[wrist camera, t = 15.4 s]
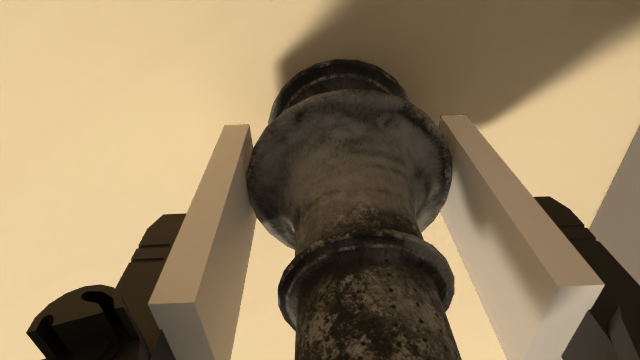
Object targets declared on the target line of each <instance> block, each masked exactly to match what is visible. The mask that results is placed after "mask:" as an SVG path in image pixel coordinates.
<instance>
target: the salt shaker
mask: <svg viewBox="0 0 640 360" xmlns="http://www.w3.org/2000/svg"><path fill="white" fill-rule="evenodd" d="M246 179H247V189H248V196H249V200H250V203H251V205H252V208H253V210H254V213H255V215H256V217H257V218H258V220H259V221H260V222H261V223H262V225H263V226H264V227H265V228H266V230H267V231H268V232H269V233H270V234H271V235H273V236H274V237H275V238H277V239H278V240H279V241H281V242H282V243H283V244H285V245H286V246H288V247H290V248H292V249H294V250H295V258H294V259H293V260H292V261H291V263H290V264H289V265H288V266H287V268H286V269H285V270H284V272H283V275H282V277H281V280H280V283H279V286H278V306H279V308H280V310H281V313H282V315H283V317H284V319H285V320H286V322H287V323H288V324H289V325H290V326H291V327H292V328H293V329H294V330H295V331H296V340H295V360H462V359H461V356H460V354H459V351H458V348H457V345H456V342H455V339H454V336H453V333H452V331H451V328H450V325H449V322H448V319H447V316H446V313H445V312H446V311H447V309H448V308H449V306H450V303H451V301H452V298H453V295H454V275H453V273H452V271H451V269H450V266H449V264H448V262H447V260H446V258H445V257H444V256H443V255H442V254H441V253H440V252H439V251H438V250H437V249H436V248H435V247H434V246H433V245H431V244H429V243H428V242H426V241H424V240H423V237H422V234H421V232H422V231H423V230H425V229H426V228H427V227H428V226H429V225H430V224H431V223H432V222H433V221H434V220H435V218H436V217H437V215H438V213H439V212H440V210H441V209H442V207H443V206H444V204H445V202H446V200H447V197H448V193H449V190H450V186H451V182H452V156H451V153H450V151H449V148H448V145H447V142H446V140H445V137H444V135H443V133H442V132H441V131H440V129H439V128H438V127H437V126H436V125H435V123H434V122H433V121H432V120H431V118H430V117H429V116H428V115H427V114H426V113H425V112H423V111H422V110H420V109H419V108H417V107H416V106H414V105H413V104H411V103H410V102H409V99H408V97H407V94H406V92H405V91H404V90H403V88H402V87H401V86H400V85H399V83H398V82H397V81H396V80H395V79H394V77H392V76H391V75H389V74H388V73H386V72H385V71H383V70H382V69H380V68H379V67H377V66H374V65H371V64H368V63H365V62H362V61H359V60H340V59H336V60H332V61H327V62H323V63H318V64H315V65H313V66H311V67H309V68H308V69H306V70H304V71H302V72H300V73H298V74H297V75H296V76H295V77H294V78H292V79H291V80H290V81H289V82H288V83H287V84H286V85H285V86H284V87H283V88H282V90H281V92H280V93H279V95H278V96H277V98H276V100H275V101H274V103H273V106H272V110H271V114H270V118H269V121H268V126H267V127H266V128H265V130H264V131H263V133H262V135H261V136H260V138H259V140H258V141H257V143H256V144H255V146H254V148H253V149H252V153H251V157H250V161H249V165H248V169H247V173H246Z"/></svg>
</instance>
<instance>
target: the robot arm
mask: <svg viewBox="0 0 640 360" xmlns="http://www.w3.org/2000/svg"><path fill="white" fill-rule="evenodd" d="M439 129H440V131H441V132H442V133H443V135H444V137H445V140H446V142H447V145H448V148H449V151H450V153H451V156H452V182H451V186H450V190H449V193H448V197H447V200H446V202H445V204H444V206H443V207H442V209H441V210H440V212H441V215H442V217H443V219H444V221H445V223H446V226H447V228H448V230H449V232H450V234H451V237H452V239H453V241H454V243H455V246H456V248H457V250H458V252H459V254H460V257H461V259H462V261H463V263H464V265H465V268H466V270H467V272H468V274H469V276H470V279H471V281H472V283H473V285H474V287H475V290H476V292H477V294H478V296H479V298H480V301H481V303H482V305H483V307H484V309H485V312H486V314H487V316H488V318H489V321H490V323H491V325H492V327H493V329H494V332H495V334H496V336H497V338H498V340H499V343H500V345H501V347H502V349H503V351H504V354H505V356H506V358H507V360H561V359H563V360H640V285H639V284H638V283H637V282H636V281H635V280H634V279H633V278H632V276H631V275H630V274H629V273H628V272H627V271H626V270H625V269H624V268H623V267H622V266H621V264H620V263H619V262H618V261H617V260H616V259H615V258H614V257H613V256H612V255H611V253H610V252H609V251H608V250H607V249H606V248H605V247H604V246H603V245H602V244H601V243H600V241H596V237H595V236H594V235H593V234H592V233H591V232H590V231H589V229H588V228H584V224H583V223H582V222H581V221H580V220H579V219H578V217H577V216H576V215H575V214H574V213H573V212H572V211H571V210H570V209H569V208H567V207H566V206H564V205H562V204H561V203H559V202H558V201H556V200H554V199H553V198H551V197H550V196H547V197H533V196H532V195H531V194H530V193H529V191H528V190H527V189H526V188H525V187H524V185H523V184H522V183H521V182H520V180H519V179H518V178H517V177H516V176H515V174H514V173H513V172H512V171H511V170H510V168H509V167H508V166H507V165H506V163H505V162H504V161H503V160H502V159H501V157H500V156H499V155H498V154H497V152H496V151H495V150H494V149H493V148H492V146H491V145H490V144H489V143H488V141H487V140H486V139H485V138H484V137H483V135H482V134H481V133H480V132H479V131H478V129H477V128H476V127H475V126H474V124H473V123H472V122H471V121H470V120H469V118H468V117H467V116H466V115H445V116H441V117H440V123H439ZM252 149H253V144H252V138H251V132H250V126H249V124H244V125H225V126H224V128H223V130H222V133H221V135H220V137H219V140H218V142H217V144H216V147H215V149H214V151H213V154H212V156H211V158H210V161H209V163H208V165H207V168H206V170H205V172H204V175H203V177H202V179H201V182H200V184H199V186H198V189H197V191H196V193H195V195H194V198H193V200H192V202H191V205H190V207H189V209H188V212H187V214H166V215H162V216H161V217H160V218H159V219H158V220H157V221H156V222H155V223H153V224H152V225H151V226H150V227H149V228H148V229H147V231H146V232H145V234H144V236H143V238H142V240H141V242H140V244H139V248H138V249H136V251H135V253H134V255H133V257H132V258H131V263H129V264H128V266H127V268H126V270H125V271H124V273H123V275H122V277H121V279H120V281H119V283H118V284H117V286H116V288H114V287H109V286H105V285H93V286H84V287H82V288H79V289H76V290H74V291H71V292H68V293H66V294H64V295H63V296H61V297H60V298H58V299H56V300H55V301H53V302H52V303H50V304H49V305H48V306H47V307H46V308H45V309H44V310H43V311H42V312H40V313H39V314H38V315H37V316H36V317H35V319H34V320H33V322H32V324H31V326H30V327H29V329H28V331H27V332H26V333H27V335H28V336H29V337H30V338H31V340H32V341H33V342H34V343H35V345H36V346H37V347H38V348H39V349H40V351H41V352H42V353H43V354H44V356H45V357H46V359H43V360H230V359H231V353H232V348H233V343H234V337H235V332H236V326H237V321H238V316H239V310H240V305H241V299H242V294H243V289H244V283H245V278H246V272H247V267H248V261H249V256H250V251H251V245H252V240H253V234H254V229H255V224H256V218H257V217H256V215H255V213H254V210H253V208H252V205H251V203H250V200H249V196H248V189H247V179H246V173H247V169H248V165H249V161H250V157H251V153H252Z"/></svg>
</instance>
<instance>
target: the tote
mask: <svg viewBox="0 0 640 360" xmlns="http://www.w3.org/2000/svg"><path fill="white" fill-rule="evenodd" d="M589 231H590V232H591V233H592V234H593V235H594V236H595V237H596V241H600V243H601V244H602V245H603V246H604V247H605V248H606V249H607V250H608V251H609V252H610V253H611V255H612V256H613V257H614V258H615V259H616V260H617V261H618V262H619V263H620V264H621V266H622V267H623V268H624V269H625V270H626V271H627V272H628V273H629V274H630V275H631V276H632V278H633V279H634V280H635V281H636V282H637V283H638V284H639V285H640V126H639V128H638V130H637V132H636V135H635V137H634V139H633V141H632V143H631V145H630V147H629V149H628V151H627V153H626V155H625V157H624V159H623V161H622V163H621V165H620V167H619V169H618V171H617V173H616V175H615V178H614V180H613V182H612V184H611V186H610V188H609V190H608V192H607V194H606V196H605V198H604V200H603V202H602V204H601V206H600V208H599V210H598V212H597V214H596V216H595V219H594V221H593V223H592V225H591V227H590V229H589Z"/></svg>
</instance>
